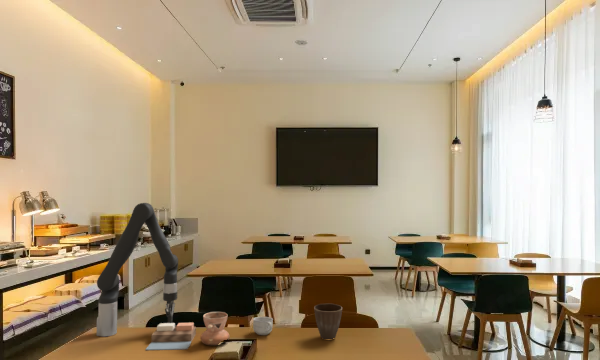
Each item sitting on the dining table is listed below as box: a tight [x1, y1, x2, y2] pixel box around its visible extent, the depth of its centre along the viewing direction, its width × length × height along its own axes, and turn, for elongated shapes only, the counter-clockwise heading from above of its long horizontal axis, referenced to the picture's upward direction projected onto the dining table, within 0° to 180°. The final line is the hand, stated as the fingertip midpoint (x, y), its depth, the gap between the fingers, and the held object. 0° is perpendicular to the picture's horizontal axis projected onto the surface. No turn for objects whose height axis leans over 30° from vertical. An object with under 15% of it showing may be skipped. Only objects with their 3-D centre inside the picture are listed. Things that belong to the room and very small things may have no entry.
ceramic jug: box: [200, 311, 230, 346], centre depth 207 cm, size 18×14×14 cm
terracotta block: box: [175, 322, 195, 331], centre depth 216 cm, size 8×5×2 cm, turn 94°
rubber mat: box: [145, 341, 192, 351], centre depth 202 cm, size 20×10×1 cm, turn 94°
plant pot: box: [313, 303, 343, 340], centre depth 214 cm, size 15×15×16 cm
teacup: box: [252, 316, 274, 336], centre depth 220 cm, size 14×11×8 cm
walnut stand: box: [151, 326, 197, 343], centre depth 213 cm, size 20×12×4 cm, turn 94°
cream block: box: [156, 322, 176, 331], centre depth 215 cm, size 8×5×2 cm, turn 94°
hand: (169, 322), depth 223 cm, fingers closed
